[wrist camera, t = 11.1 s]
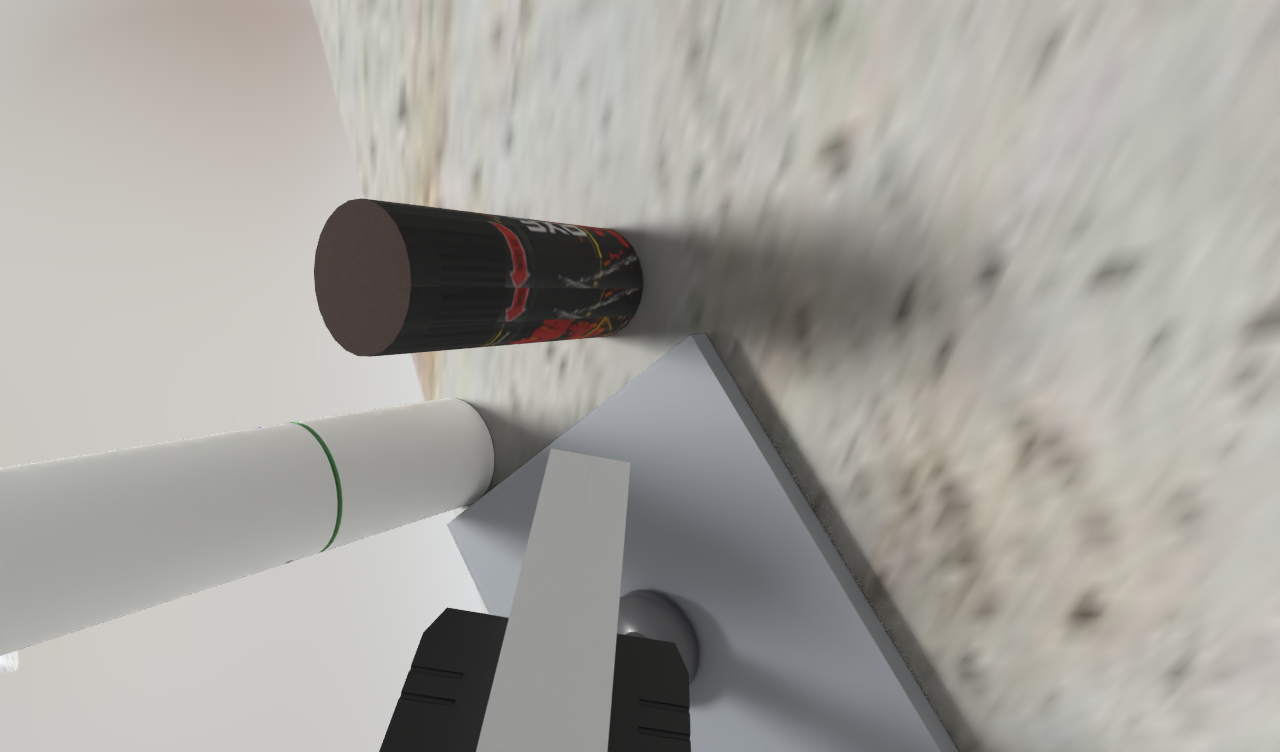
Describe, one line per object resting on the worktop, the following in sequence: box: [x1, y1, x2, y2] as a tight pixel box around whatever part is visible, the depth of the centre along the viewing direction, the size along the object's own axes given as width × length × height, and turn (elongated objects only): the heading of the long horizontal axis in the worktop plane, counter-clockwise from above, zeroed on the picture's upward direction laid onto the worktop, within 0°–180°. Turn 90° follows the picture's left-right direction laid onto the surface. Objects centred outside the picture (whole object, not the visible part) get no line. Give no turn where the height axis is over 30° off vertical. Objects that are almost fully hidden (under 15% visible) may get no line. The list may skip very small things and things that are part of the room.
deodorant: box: [314, 199, 643, 356], centre depth 34 cm, size 6×6×15 cm
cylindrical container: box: [0, 398, 494, 656], centre depth 37 cm, size 7×7×25 cm
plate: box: [447, 333, 959, 752], centre depth 39 cm, size 24×22×2 cm
